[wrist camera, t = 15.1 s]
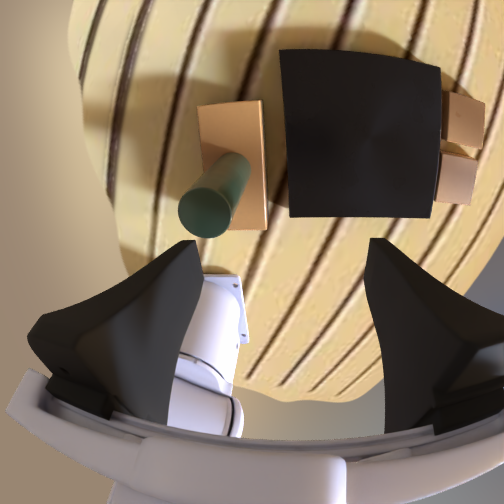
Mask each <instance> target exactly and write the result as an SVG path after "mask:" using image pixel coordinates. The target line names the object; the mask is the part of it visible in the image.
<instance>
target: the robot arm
mask: <svg viewBox="0 0 504 504" xmlns="http://www.w3.org/2000/svg"><path fill="white" fill-rule="evenodd" d="M363 279H364V285H365V291H366V296H367V301H368V304H369V308H370V311H371V314H372V318H373V321H374V325H375V328H376V332H377V336H378V339H379V343H380V348H381V354H382V363H383V372H384V385H385V431H384V434H381V435H375V436H367V437H358V438H347V439H334V440H311V441H309V440H308V441H288V440H287V441H286V440H263V439H249V438H240V437H241V434H242V430H243V423H244V414H243V410H242V407H241V404H240V401H239V400H238V399H237V398H236V397H233V396H231V393H232V388H233V384H232V382H233V377H234V372H235V366H236V361H237V356H238V351H239V345H240V343H242V344H246V343H248V342H249V333H248V326H247V320H246V313H245V306H244V299H243V292H242V285H241V279H240V277H239V276H238V275H235V274H203V271H202V267H201V263H200V258H199V254H198V249H197V245H196V241H195V240H182V241H180V242H178V243H177V244H175V245H174V246H172V247H171V248H169V249H168V250H167V251H165V252H164V253H163V254H161V255H160V256H158V257H157V258H156V259H154V260H153V261H152V262H150V263H149V264H147V265H146V266H145V267H143V268H142V269H140V270H139V271H137V272H136V273H134V274H133V275H132V276H130V277H128V278H127V279H125V280H124V281H122V282H120V283H119V284H117V285H115V286H114V287H112V288H110V289H108V290H106V291H104V292H102V293H100V294H98V295H96V296H94V297H92V298H90V299H87V300H85V301H83V302H80V303H78V304H75V305H73V306H70V307H67V308H64V309H61V310H57V311H54V312H51V313H47V314H43V315H42V316H41V317H40V318H39V319H38V321H37V322H36V324H35V325H34V326H33V328H32V329H31V330H30V332H29V333H28V335H27V339H28V343H29V345H30V347H31V348H32V350H33V351H34V353H35V354H36V355H37V356H38V357H39V359H40V360H41V361H42V362H43V363H44V365H45V366H46V367H47V368H48V369H49V370H50V371H51V372H52V373H53V375H52V377H51V378H50V379H49V378H48V377H46V376H45V375H43V374H41V373H39V372H37V371H35V370H33V369H31V368H29V369H28V370H27V372H26V373H25V375H24V377H23V379H22V380H21V382H20V384H19V386H18V387H17V389H16V391H15V393H14V395H13V397H12V399H11V401H10V402H9V405H8V406H7V408H6V410H5V411H6V413H7V414H8V415H9V416H10V417H11V418H13V419H14V420H15V421H16V422H18V423H19V424H20V425H22V426H23V427H24V428H25V429H27V430H28V431H29V432H31V433H32V434H34V435H35V436H36V437H38V438H39V439H41V440H42V441H44V442H45V443H47V444H48V445H50V446H51V447H53V448H54V449H56V450H57V451H59V452H61V453H62V454H64V455H66V456H67V457H69V458H71V459H73V460H74V461H76V462H78V463H80V464H82V465H83V466H85V467H88V468H89V469H91V470H93V471H95V472H97V473H99V474H101V475H104V476H106V477H108V478H110V479H113V480H114V483H113V486H112V489H111V492H110V495H109V497H108V500H107V503H106V504H406V503H409V502H413V501H416V500H420V499H423V498H426V497H429V496H432V495H435V494H437V493H441V492H443V491H446V490H449V489H451V488H453V487H456V486H458V485H461V484H463V483H465V482H468V481H470V480H472V479H474V478H476V477H478V476H480V475H482V474H484V473H486V472H488V471H490V470H492V469H494V468H496V467H497V466H499V465H501V464H503V463H504V389H503V387H504V315H501V314H498V313H496V312H493V311H491V310H489V309H487V308H485V307H482V306H480V305H478V304H476V303H474V302H472V301H471V300H469V299H467V298H465V297H463V296H462V295H460V294H458V293H457V292H455V291H453V290H452V289H450V288H449V287H447V286H446V285H444V284H443V283H441V282H440V281H438V280H437V279H435V278H434V277H433V276H431V275H430V274H429V273H427V272H426V271H425V270H423V269H422V268H421V267H420V266H418V265H417V264H416V263H415V262H413V261H412V260H411V259H410V258H409V257H407V256H406V255H405V254H404V253H403V252H401V251H400V250H399V249H398V248H397V247H395V246H394V245H393V244H392V243H390V242H389V241H388V240H386V239H385V238H370V243H369V249H368V255H367V261H366V267H365V273H364V278H363ZM233 283H236V284H238V285H235V284H233ZM351 462H352V463H351Z"/></svg>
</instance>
